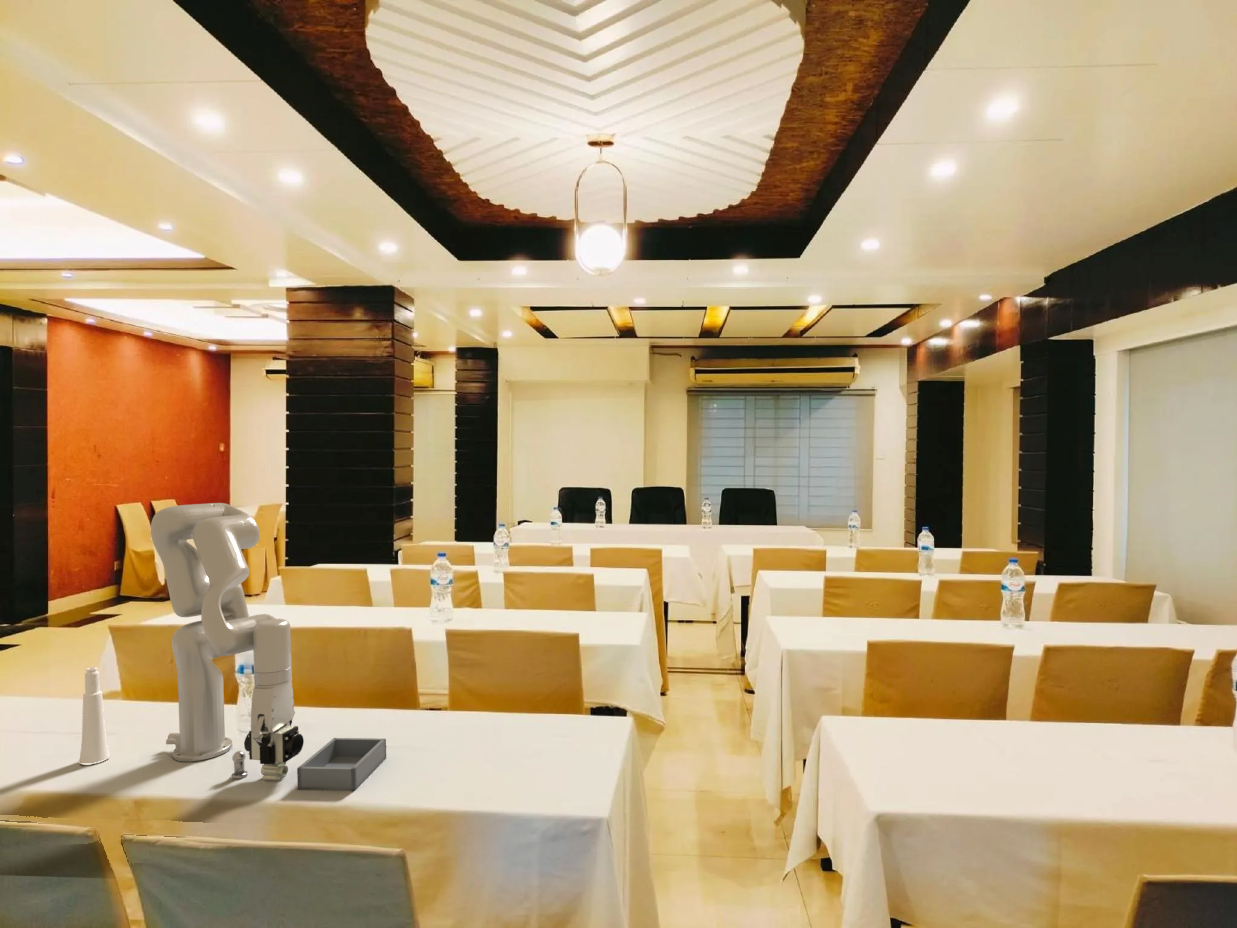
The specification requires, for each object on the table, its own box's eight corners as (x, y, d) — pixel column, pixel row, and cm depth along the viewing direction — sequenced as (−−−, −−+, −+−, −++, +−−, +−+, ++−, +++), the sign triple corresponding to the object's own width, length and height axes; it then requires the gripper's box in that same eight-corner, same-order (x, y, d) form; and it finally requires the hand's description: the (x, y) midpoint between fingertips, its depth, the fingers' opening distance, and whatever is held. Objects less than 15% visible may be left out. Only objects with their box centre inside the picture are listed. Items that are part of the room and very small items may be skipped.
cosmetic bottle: (109, 761, 173) (106, 669, 172) (77, 768, 170) (74, 673, 169) (111, 753, 178) (108, 663, 178) (80, 758, 175) (77, 667, 175)
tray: (297, 789, 156) (297, 768, 156) (334, 757, 173) (334, 737, 173) (354, 790, 155) (354, 769, 155) (386, 758, 172) (385, 738, 172)
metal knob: (228, 779, 162) (227, 754, 162) (237, 773, 165) (236, 748, 165) (242, 779, 162) (241, 754, 162) (250, 773, 165) (249, 748, 165)
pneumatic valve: (291, 784, 159) (290, 729, 159) (244, 780, 161) (243, 725, 161) (307, 773, 164) (306, 720, 164) (261, 769, 167) (260, 717, 166)
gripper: (278, 665, 171) (280, 742, 171) (233, 688, 154) (236, 774, 154) (309, 665, 171) (311, 742, 171) (267, 688, 153) (270, 774, 154)
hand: (275, 756), depth 163 cm, fingers closed on pneumatic valve, 5 cm apart
